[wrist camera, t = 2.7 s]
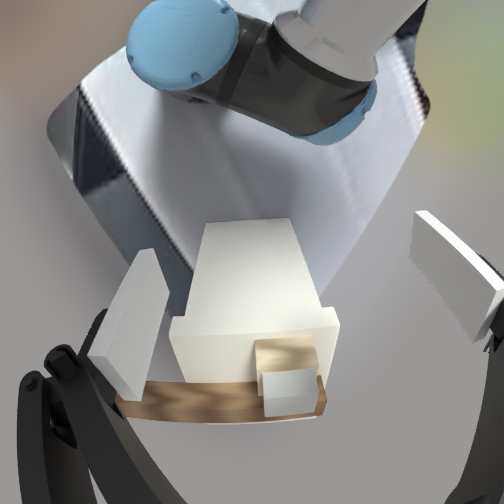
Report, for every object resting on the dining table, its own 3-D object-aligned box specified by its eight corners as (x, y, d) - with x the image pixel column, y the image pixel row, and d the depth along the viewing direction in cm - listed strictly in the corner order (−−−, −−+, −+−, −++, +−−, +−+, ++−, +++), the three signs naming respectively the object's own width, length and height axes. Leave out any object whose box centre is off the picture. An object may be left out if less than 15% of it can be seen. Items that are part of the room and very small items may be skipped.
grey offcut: (262, 393, 27) (264, 417, 25) (262, 372, 25) (264, 398, 23) (309, 388, 27) (314, 412, 25) (313, 367, 25) (319, 393, 23)
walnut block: (121, 393, 35) (115, 415, 31) (110, 377, 33) (103, 401, 29) (317, 390, 35) (322, 415, 31) (320, 375, 33) (327, 400, 29)
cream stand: (213, 306, 65) (204, 424, 39) (200, 218, 54) (168, 335, 28) (291, 301, 65) (316, 417, 39) (294, 212, 54) (340, 325, 28)
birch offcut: (256, 367, 31) (258, 396, 28) (254, 339, 29) (256, 370, 25) (307, 363, 31) (313, 390, 28) (311, 334, 29) (319, 364, 25)
